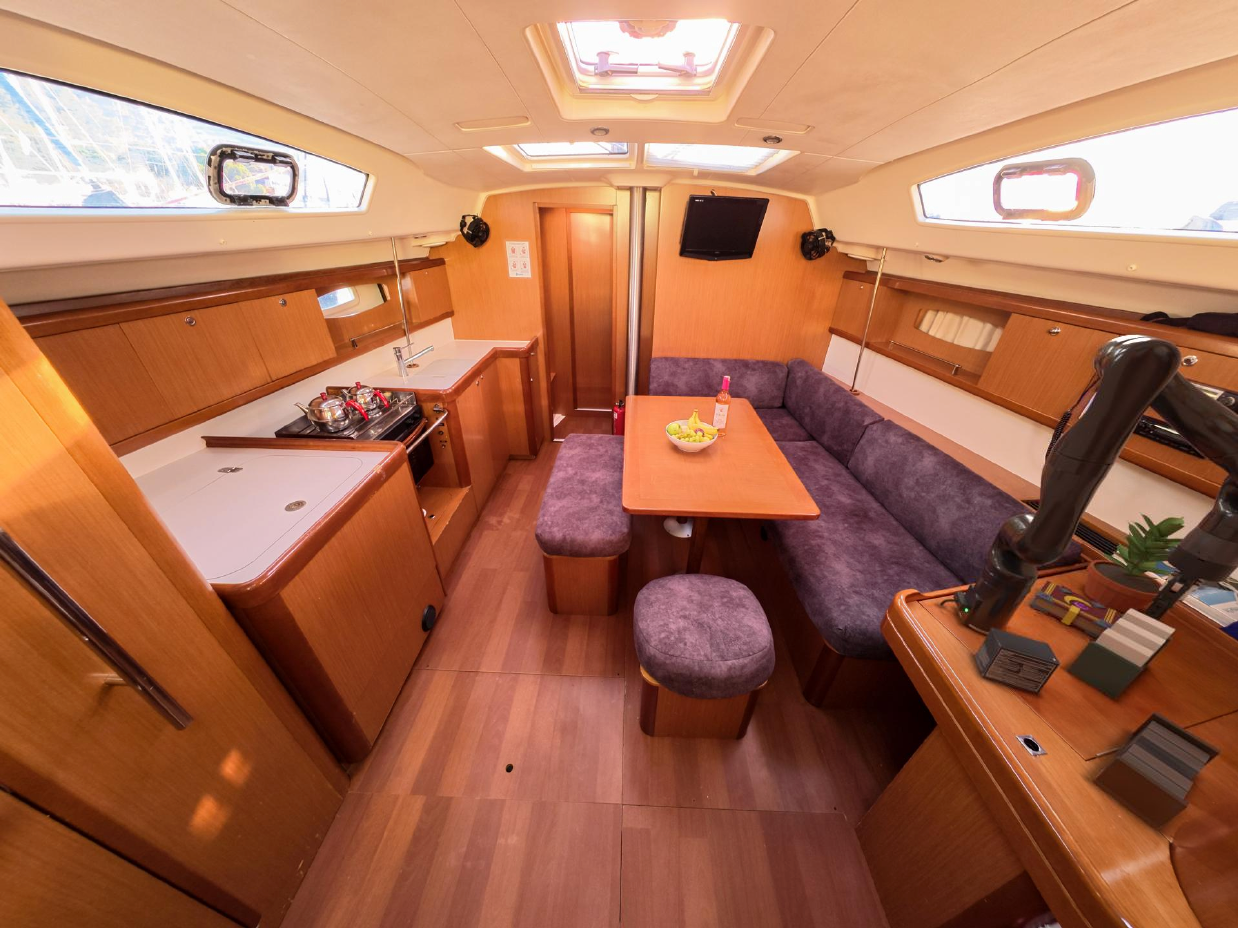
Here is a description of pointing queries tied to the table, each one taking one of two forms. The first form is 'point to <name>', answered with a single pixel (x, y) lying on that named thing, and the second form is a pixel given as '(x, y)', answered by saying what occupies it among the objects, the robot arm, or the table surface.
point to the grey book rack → (1155, 769)
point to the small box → (1016, 661)
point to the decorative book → (1075, 609)
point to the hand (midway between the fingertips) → (1157, 610)
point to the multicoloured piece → (1118, 656)
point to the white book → (1138, 635)
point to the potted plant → (1133, 567)
